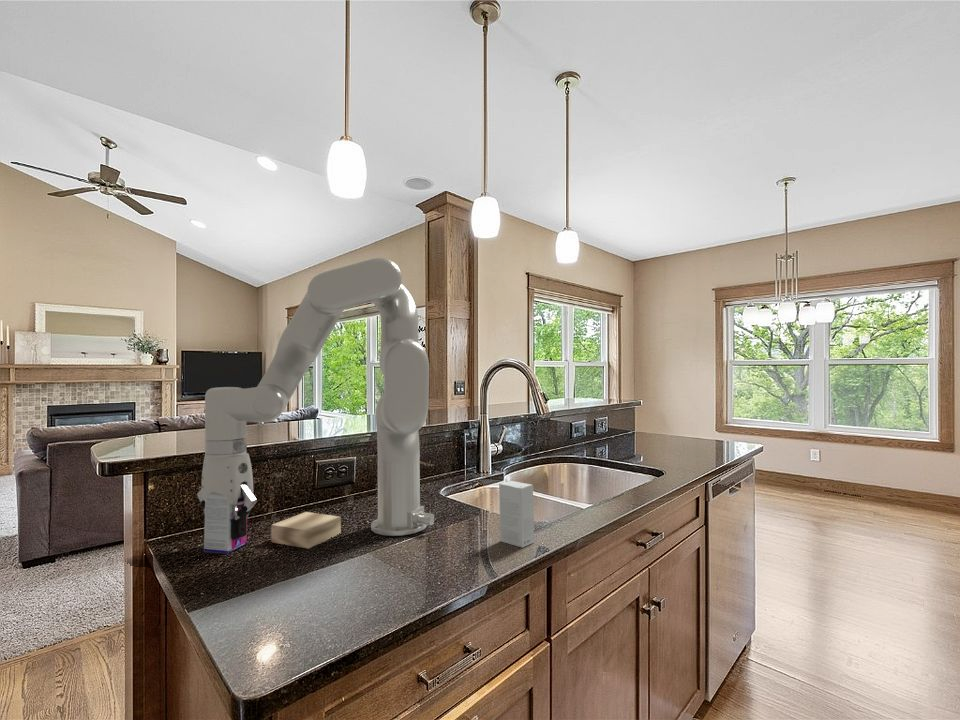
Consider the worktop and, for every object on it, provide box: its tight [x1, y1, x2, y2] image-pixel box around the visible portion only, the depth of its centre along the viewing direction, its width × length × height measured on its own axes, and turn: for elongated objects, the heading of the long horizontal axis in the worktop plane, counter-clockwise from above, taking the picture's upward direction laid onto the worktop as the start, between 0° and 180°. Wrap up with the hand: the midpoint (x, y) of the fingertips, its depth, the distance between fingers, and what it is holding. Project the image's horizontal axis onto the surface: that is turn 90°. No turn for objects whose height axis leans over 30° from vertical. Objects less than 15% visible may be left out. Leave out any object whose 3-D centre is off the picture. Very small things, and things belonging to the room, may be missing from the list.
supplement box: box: [203, 493, 248, 554], centre depth 100 cm, size 6×6×12 cm
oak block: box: [270, 511, 342, 550], centre depth 106 cm, size 10×10×4 cm
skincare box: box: [498, 480, 535, 549], centre depth 101 cm, size 6×4×12 cm
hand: (226, 534), depth 100 cm, fingers closed on supplement box, 6 cm apart
